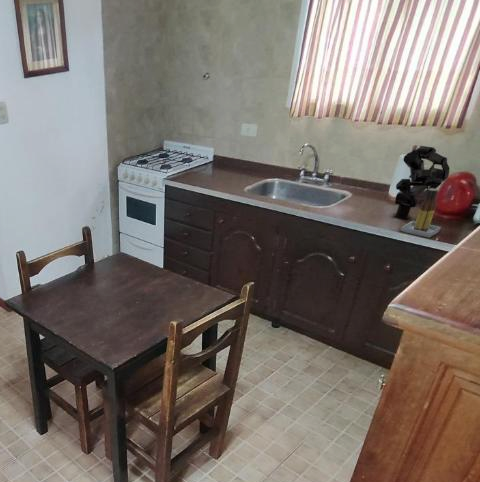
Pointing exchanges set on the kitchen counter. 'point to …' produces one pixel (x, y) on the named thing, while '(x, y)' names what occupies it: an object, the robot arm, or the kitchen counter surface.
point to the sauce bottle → (426, 211)
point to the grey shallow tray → (410, 229)
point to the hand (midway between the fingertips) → (419, 199)
